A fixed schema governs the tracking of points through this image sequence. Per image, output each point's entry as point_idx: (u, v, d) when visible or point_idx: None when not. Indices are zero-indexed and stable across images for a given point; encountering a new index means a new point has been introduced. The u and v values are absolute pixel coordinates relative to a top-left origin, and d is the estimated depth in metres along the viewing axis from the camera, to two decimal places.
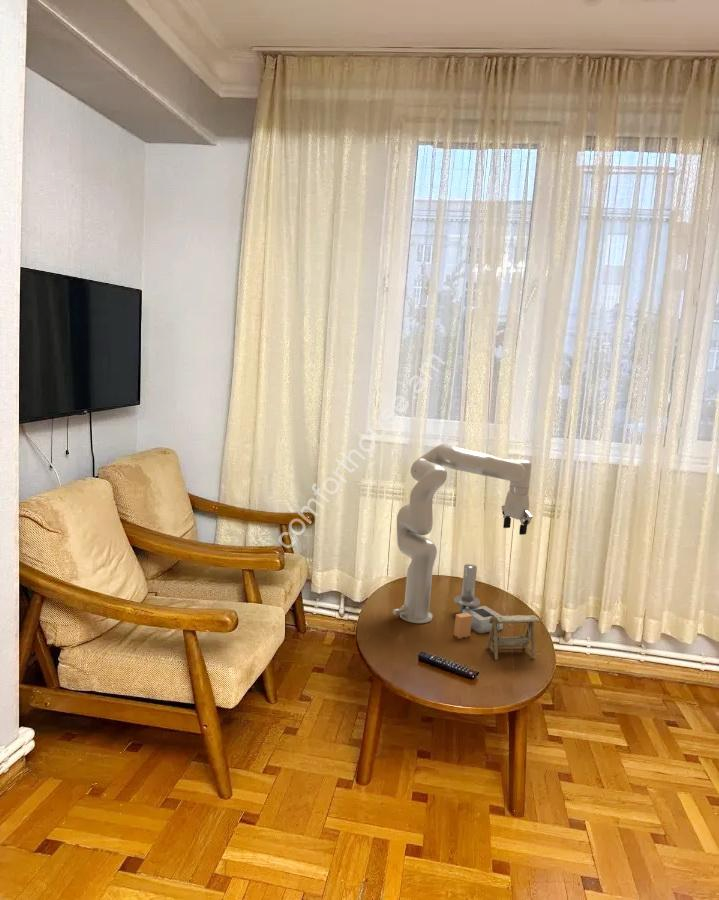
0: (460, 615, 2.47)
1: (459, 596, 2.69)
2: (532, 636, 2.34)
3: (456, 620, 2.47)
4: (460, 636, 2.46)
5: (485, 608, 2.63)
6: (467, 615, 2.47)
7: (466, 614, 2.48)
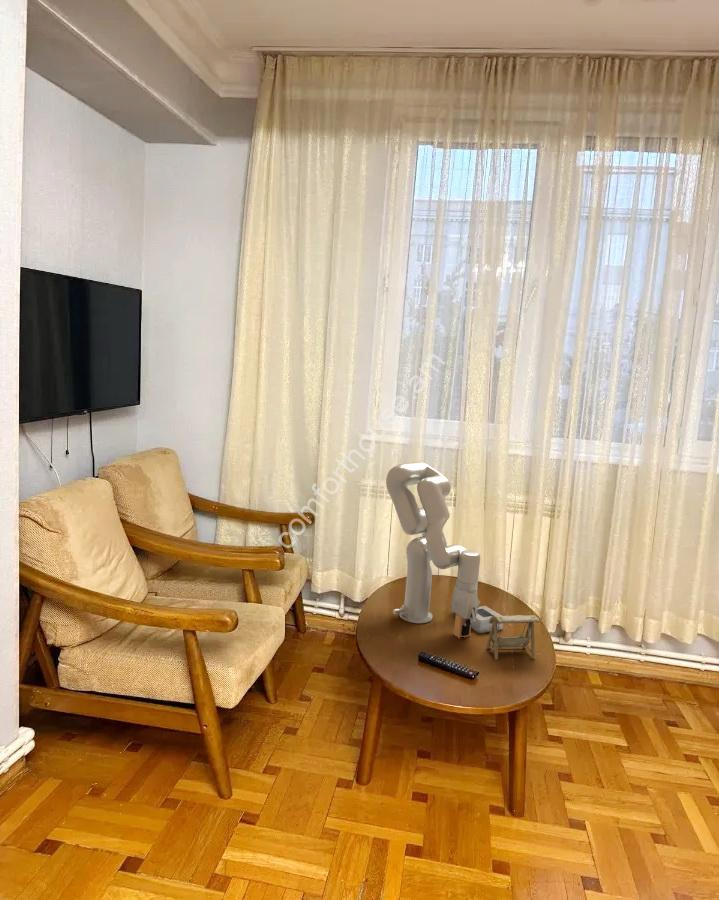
0: None
1: None
2: (532, 636, 2.34)
3: (456, 620, 2.47)
4: (460, 636, 2.46)
5: (485, 608, 2.63)
6: None
7: None
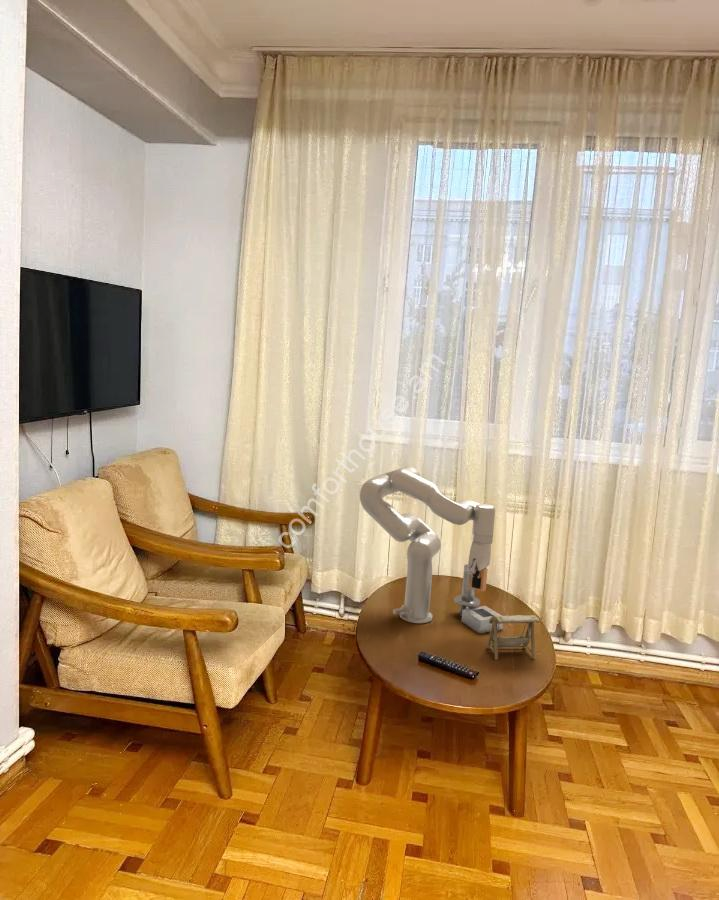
0: None
1: (459, 596, 2.69)
2: (532, 636, 2.34)
3: None
4: (471, 587, 2.51)
5: (485, 608, 2.63)
6: None
7: None
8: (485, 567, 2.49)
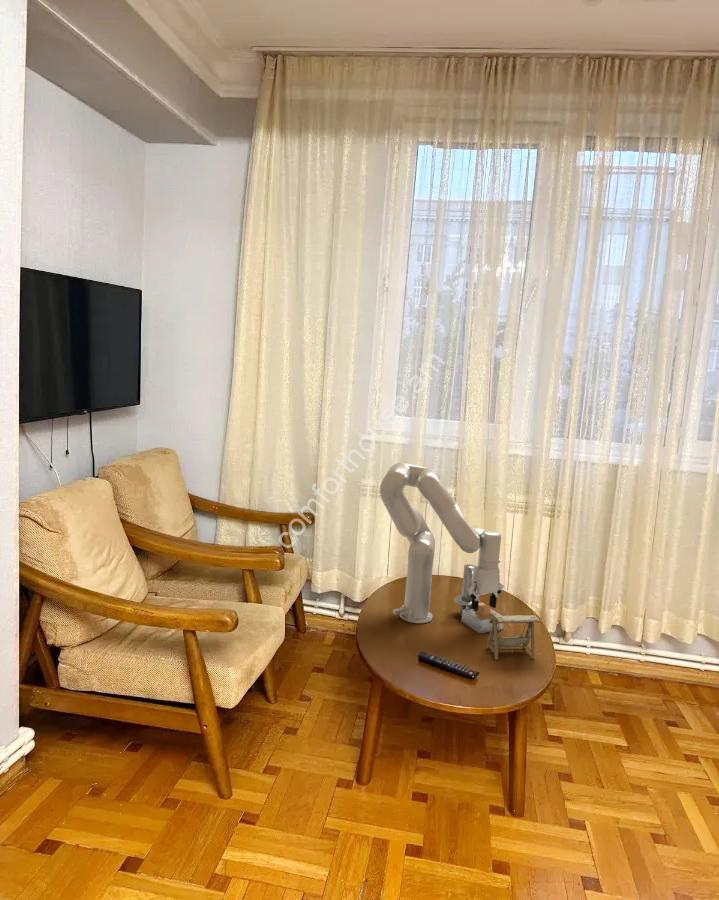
0: (481, 604, 2.59)
1: (459, 596, 2.69)
2: (532, 636, 2.34)
3: None
4: None
5: None
6: (483, 606, 2.56)
7: (485, 606, 2.57)
8: (489, 593, 2.55)
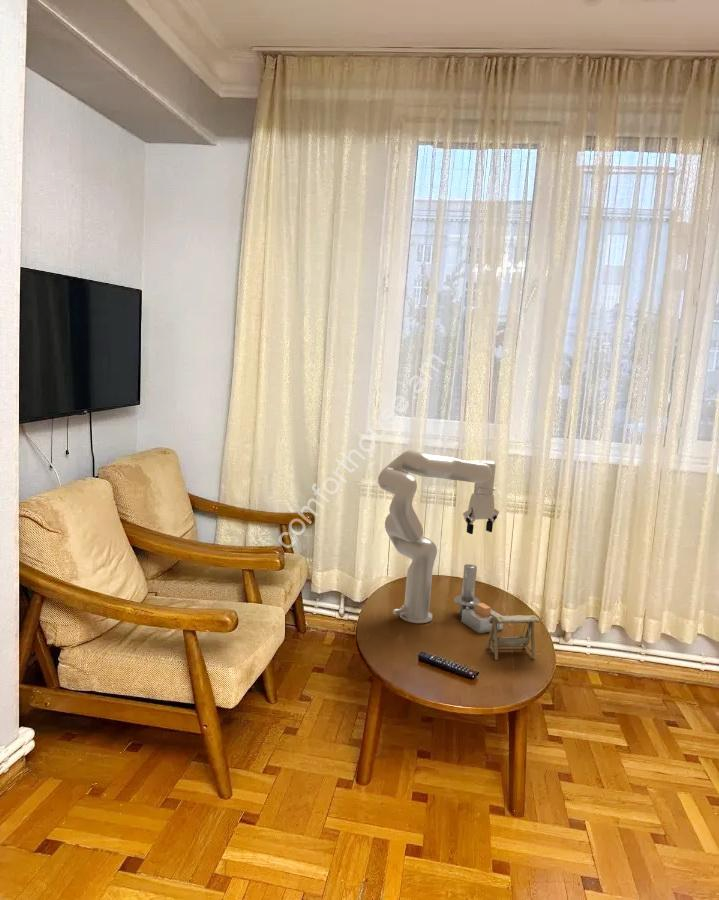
0: (481, 604, 2.59)
1: (459, 596, 2.69)
2: (532, 636, 2.34)
3: None
4: None
5: None
6: (483, 606, 2.56)
7: (486, 606, 2.57)
8: (485, 518, 2.73)
